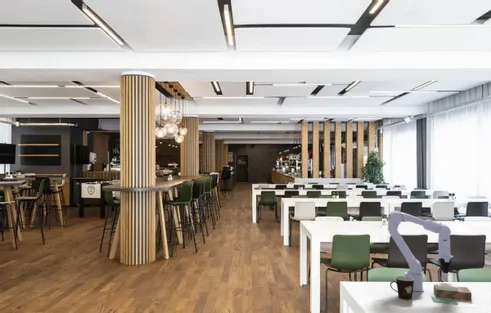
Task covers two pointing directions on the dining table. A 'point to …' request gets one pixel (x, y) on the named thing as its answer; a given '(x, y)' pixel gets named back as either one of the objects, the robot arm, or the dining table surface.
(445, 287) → the upright cream block
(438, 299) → the mat
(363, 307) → the dining table surface
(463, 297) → the brown flat block
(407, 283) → the coffee mug
